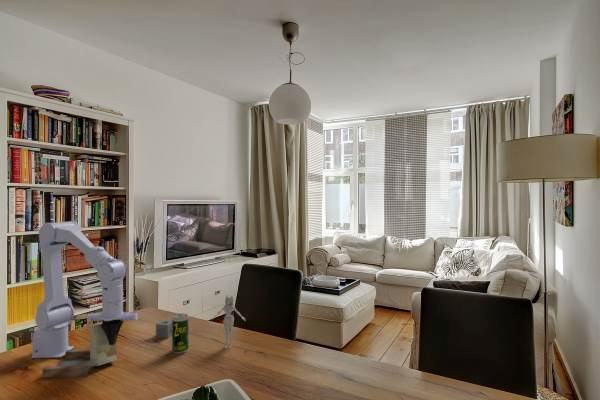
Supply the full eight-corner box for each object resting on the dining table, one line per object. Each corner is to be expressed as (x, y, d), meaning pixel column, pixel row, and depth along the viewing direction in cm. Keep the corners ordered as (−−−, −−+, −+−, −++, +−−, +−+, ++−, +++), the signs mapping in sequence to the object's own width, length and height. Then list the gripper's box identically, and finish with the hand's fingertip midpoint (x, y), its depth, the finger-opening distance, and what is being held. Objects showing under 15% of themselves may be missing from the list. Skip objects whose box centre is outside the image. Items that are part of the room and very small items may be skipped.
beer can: (171, 348, 126) (171, 314, 126) (187, 346, 128) (187, 312, 128) (172, 355, 121) (172, 319, 121) (189, 352, 124) (189, 317, 123)
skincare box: (98, 366, 110) (95, 324, 112) (90, 366, 112) (87, 325, 114) (118, 359, 115) (115, 319, 118) (110, 360, 118) (107, 321, 120)
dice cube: (155, 337, 137) (155, 324, 136) (163, 332, 141) (163, 319, 141) (167, 338, 135) (167, 325, 135) (175, 333, 140) (175, 320, 140)
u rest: (42, 377, 106) (42, 368, 106) (68, 357, 119) (68, 349, 119) (85, 376, 107) (85, 368, 107) (106, 356, 120) (106, 349, 120)
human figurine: (210, 347, 128) (210, 296, 127) (214, 343, 132) (214, 293, 131) (243, 349, 126) (244, 297, 126) (246, 344, 130) (247, 294, 130)
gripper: (81, 304, 109) (81, 349, 109) (131, 304, 110) (131, 348, 110) (93, 297, 116) (93, 340, 116) (140, 297, 117) (140, 339, 117)
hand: (112, 343), depth 114 cm, fingers closed
